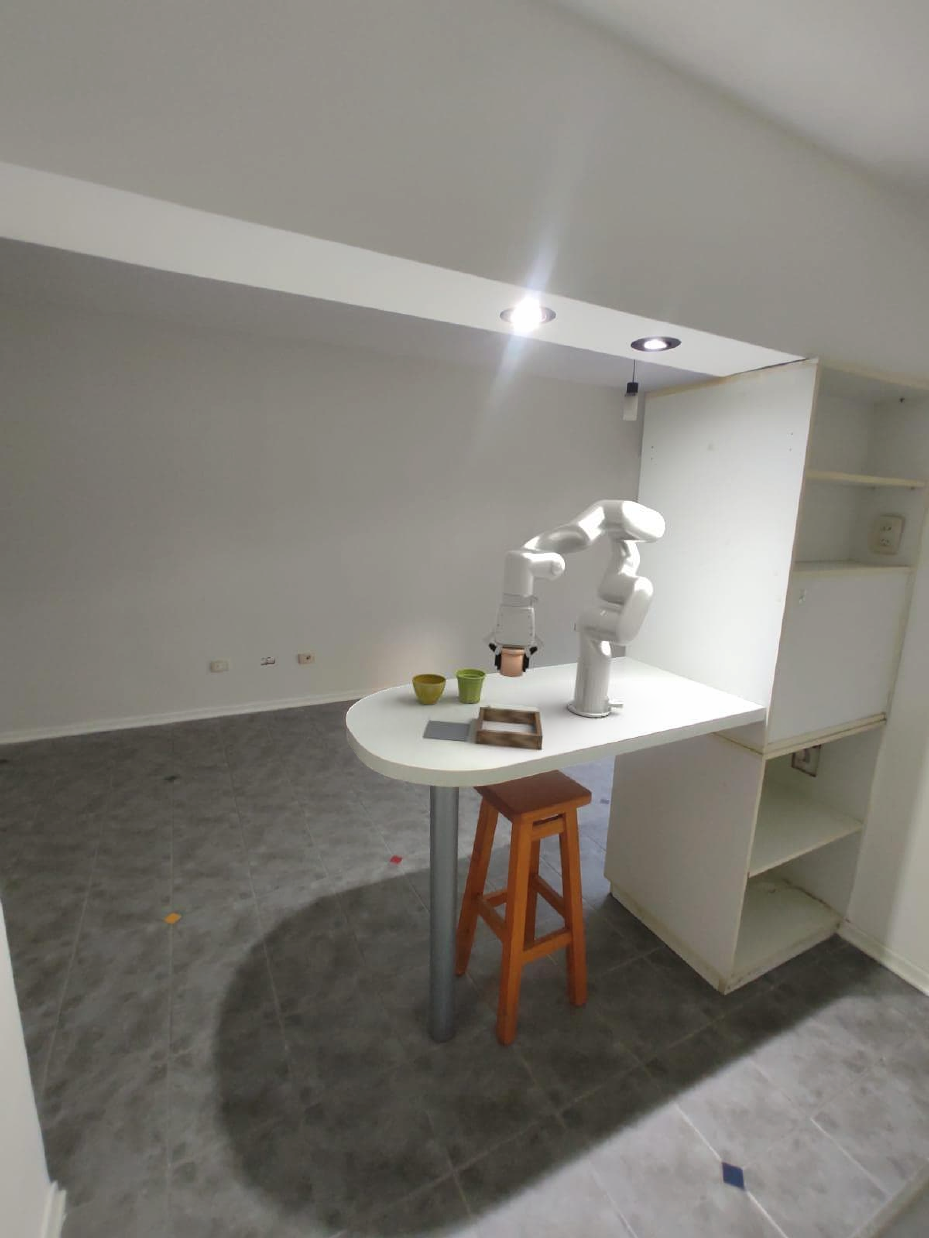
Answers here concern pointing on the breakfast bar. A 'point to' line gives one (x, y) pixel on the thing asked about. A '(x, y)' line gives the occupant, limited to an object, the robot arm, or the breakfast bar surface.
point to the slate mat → (447, 730)
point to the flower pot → (428, 687)
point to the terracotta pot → (512, 661)
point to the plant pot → (470, 684)
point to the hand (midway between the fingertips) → (511, 669)
